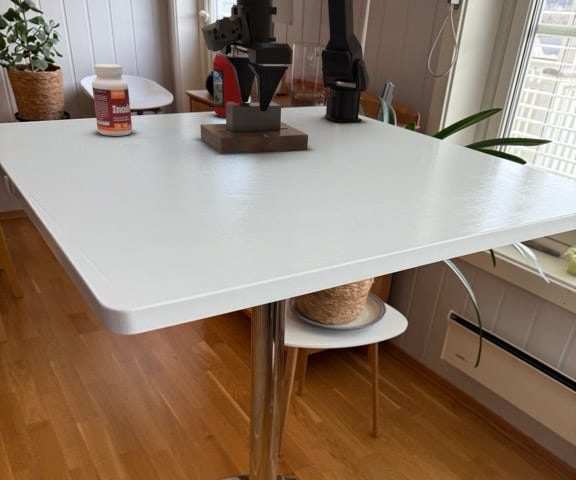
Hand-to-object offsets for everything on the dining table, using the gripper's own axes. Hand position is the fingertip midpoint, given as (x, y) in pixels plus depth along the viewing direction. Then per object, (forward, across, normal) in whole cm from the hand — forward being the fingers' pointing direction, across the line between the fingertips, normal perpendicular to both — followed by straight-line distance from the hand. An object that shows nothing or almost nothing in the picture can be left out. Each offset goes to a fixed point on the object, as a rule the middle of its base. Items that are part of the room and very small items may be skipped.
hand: (253, 106), depth 98 cm
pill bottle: (+6, -14, -22) cm, 27 cm away
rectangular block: (+4, 0, 0) cm, 4 cm away
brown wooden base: (+6, 0, 0) cm, 6 cm away
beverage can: (+6, -28, +5) cm, 29 cm away
